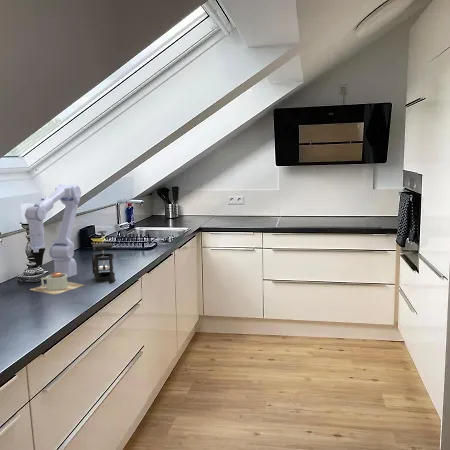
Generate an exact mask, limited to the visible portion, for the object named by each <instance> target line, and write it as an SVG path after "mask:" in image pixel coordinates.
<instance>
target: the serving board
mask: <svg viewBox="0 0 450 450" xmlns="http://www.w3.org/2000/svg"><path fill="white" fill-rule="evenodd" d="M67 283H68V287H67V288H65V289H61V290H48V289H47V286H46V287H42V285H40V286H38V287H33V288H30V289H29V291H34V292H40V293H43V294H44V293H45V294H48V295H55V296H56V295H58V294H62V293H65V292H68V291H71V290H75V289H77V288H80V287H83V286H85V284H82V283H76V282H71V281H67Z"/></svg>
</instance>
